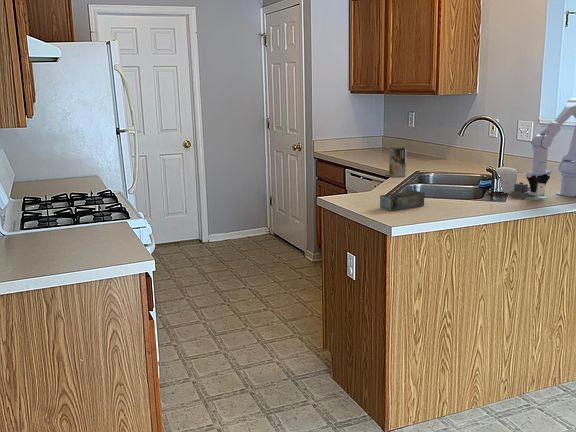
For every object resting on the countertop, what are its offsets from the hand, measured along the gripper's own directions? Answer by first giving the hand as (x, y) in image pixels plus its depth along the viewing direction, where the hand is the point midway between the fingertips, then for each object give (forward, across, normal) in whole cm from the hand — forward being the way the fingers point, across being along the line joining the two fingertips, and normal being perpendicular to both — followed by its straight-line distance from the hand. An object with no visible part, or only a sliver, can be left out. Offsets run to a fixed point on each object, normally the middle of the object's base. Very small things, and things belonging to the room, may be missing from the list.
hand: (537, 191), depth 259 cm
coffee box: (+3, +12, -84) cm, 84 cm away
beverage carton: (+4, +63, -18) cm, 66 cm away
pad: (+3, 0, 0) cm, 3 cm away
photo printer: (+3, +2, -16) cm, 17 cm away
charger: (+1, 0, 0) cm, 1 cm away
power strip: (+3, -2, -6) cm, 7 cm away
